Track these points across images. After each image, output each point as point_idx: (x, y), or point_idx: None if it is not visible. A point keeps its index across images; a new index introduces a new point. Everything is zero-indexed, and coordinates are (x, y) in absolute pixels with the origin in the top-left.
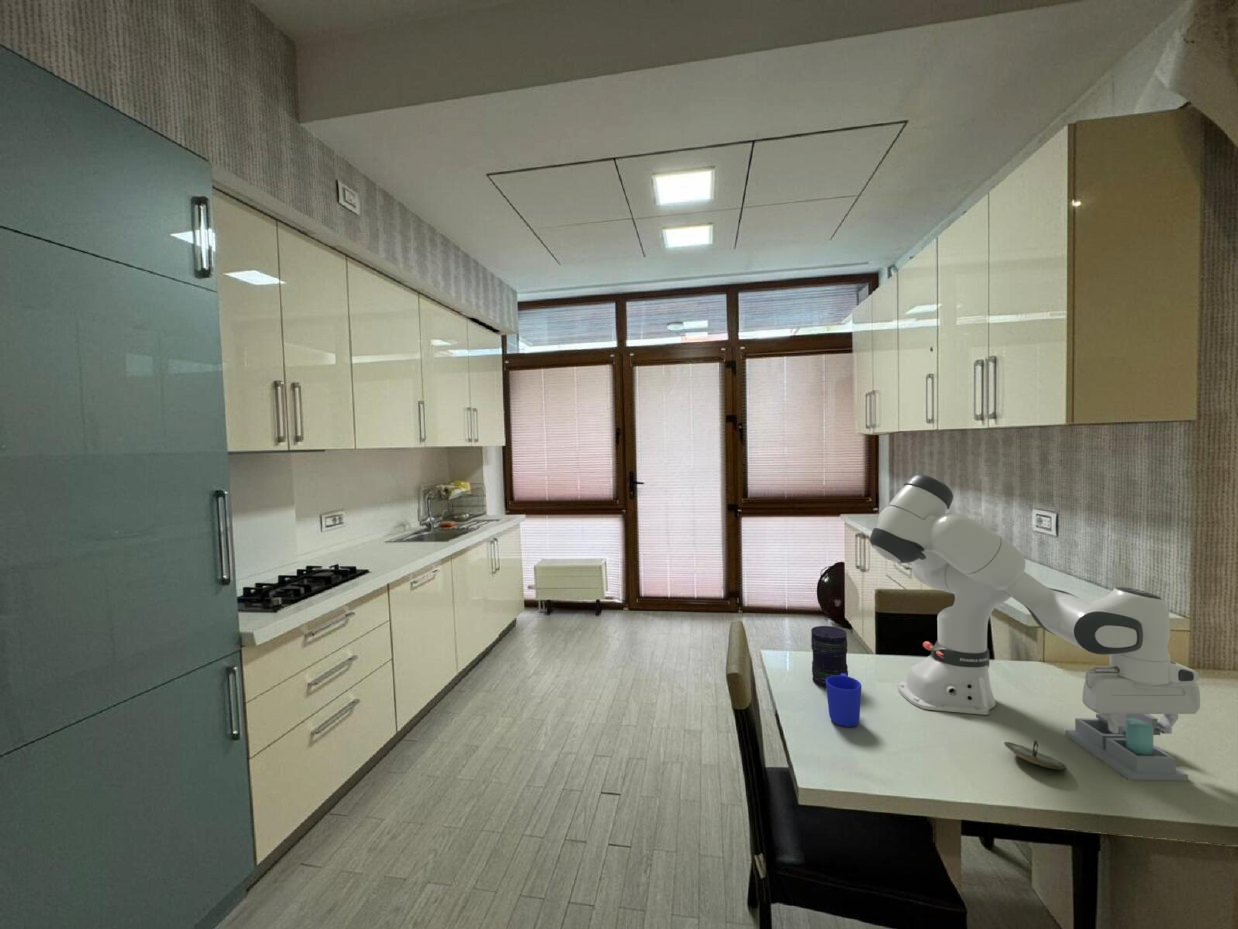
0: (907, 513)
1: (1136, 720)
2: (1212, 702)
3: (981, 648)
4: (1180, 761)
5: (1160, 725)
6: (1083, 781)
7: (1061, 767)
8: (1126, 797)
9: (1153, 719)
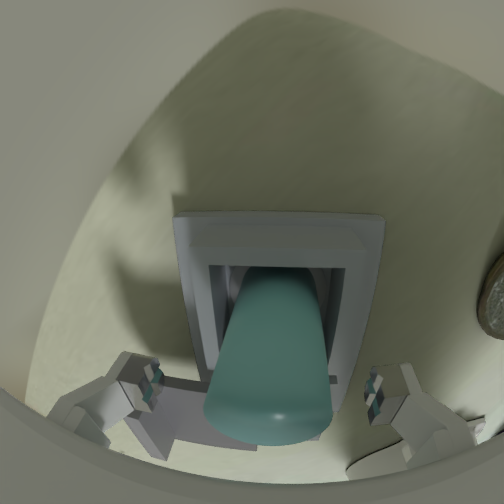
0: None
1: (253, 435)
2: (37, 396)
3: None
4: (132, 302)
5: (145, 394)
6: (492, 214)
7: None
8: (455, 133)
9: (133, 417)
